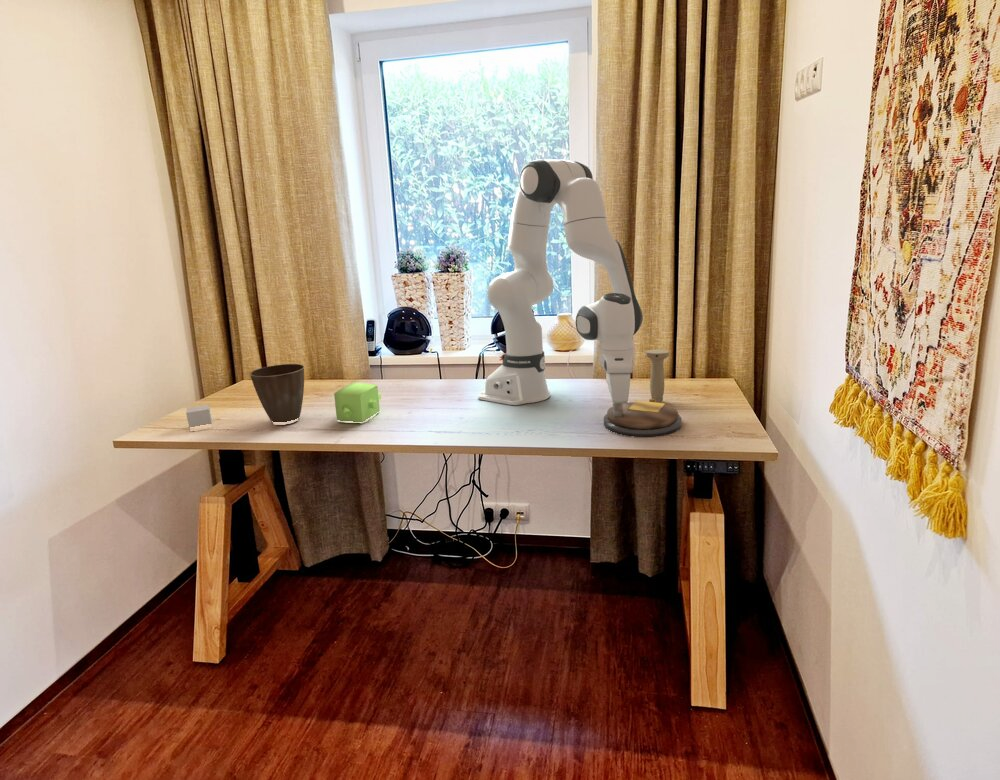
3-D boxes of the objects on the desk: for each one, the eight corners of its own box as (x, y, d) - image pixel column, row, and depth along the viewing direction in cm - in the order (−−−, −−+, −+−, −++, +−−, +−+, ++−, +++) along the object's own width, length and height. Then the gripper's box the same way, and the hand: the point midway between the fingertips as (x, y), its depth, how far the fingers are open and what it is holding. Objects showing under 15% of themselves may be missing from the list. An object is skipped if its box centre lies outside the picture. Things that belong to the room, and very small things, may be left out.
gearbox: (359, 432, 173) (356, 400, 170) (328, 428, 176) (325, 397, 173) (389, 410, 190) (387, 381, 187) (360, 408, 192) (358, 378, 190)
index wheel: (654, 403, 174) (654, 384, 172) (691, 422, 157) (692, 401, 156) (595, 412, 169) (595, 393, 168) (628, 433, 153) (627, 412, 151)
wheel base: (593, 432, 160) (593, 419, 159) (618, 407, 178) (618, 396, 177) (672, 441, 151) (672, 427, 150) (689, 414, 169) (690, 401, 168)
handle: (667, 404, 178) (668, 353, 174) (644, 403, 180) (645, 353, 176) (668, 399, 182) (669, 349, 178) (646, 399, 184) (646, 349, 180)
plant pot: (249, 424, 184) (240, 372, 180) (294, 411, 195) (286, 361, 190) (276, 433, 174) (266, 378, 170) (321, 418, 185) (314, 366, 181)
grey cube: (212, 423, 188) (208, 404, 187) (212, 428, 183) (208, 409, 181) (190, 426, 186) (186, 407, 184) (190, 432, 181) (186, 412, 179)
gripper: (601, 348, 169) (601, 396, 174) (607, 368, 150) (607, 422, 154) (624, 347, 169) (623, 396, 173) (634, 368, 149) (633, 422, 154)
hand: (616, 408), depth 163 cm, fingers closed
